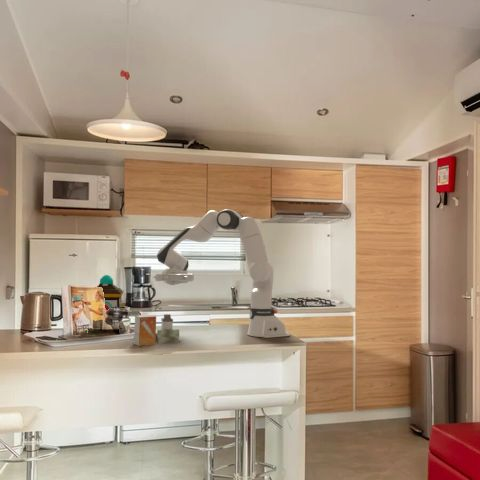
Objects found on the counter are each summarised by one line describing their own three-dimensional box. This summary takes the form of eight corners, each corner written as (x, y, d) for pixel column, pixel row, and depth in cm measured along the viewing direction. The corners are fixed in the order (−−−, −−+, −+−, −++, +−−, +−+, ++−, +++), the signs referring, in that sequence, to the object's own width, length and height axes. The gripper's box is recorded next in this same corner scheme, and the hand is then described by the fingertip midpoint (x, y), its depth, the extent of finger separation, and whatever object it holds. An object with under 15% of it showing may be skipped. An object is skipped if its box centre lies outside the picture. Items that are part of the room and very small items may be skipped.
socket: (174, 338, 220) (175, 326, 221) (178, 342, 211) (179, 329, 211) (154, 339, 217) (154, 327, 217) (157, 343, 208) (157, 330, 208)
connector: (170, 338, 217) (171, 314, 218) (172, 340, 213) (173, 315, 213) (160, 339, 216) (161, 314, 216) (162, 341, 211) (163, 315, 212)
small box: (138, 346, 200) (139, 317, 201) (133, 343, 205) (134, 315, 206) (155, 344, 204) (156, 316, 205) (150, 342, 210) (151, 314, 210)
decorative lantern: (88, 328, 246) (90, 273, 248) (125, 328, 250) (126, 274, 252) (82, 334, 227) (84, 275, 228) (122, 334, 231) (124, 275, 232)
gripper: (153, 271, 241) (156, 271, 228) (190, 271, 247) (196, 271, 234) (152, 282, 240) (156, 284, 227) (190, 282, 247) (195, 284, 234)
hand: (177, 278), depth 231 cm, fingers open, 8 cm apart
